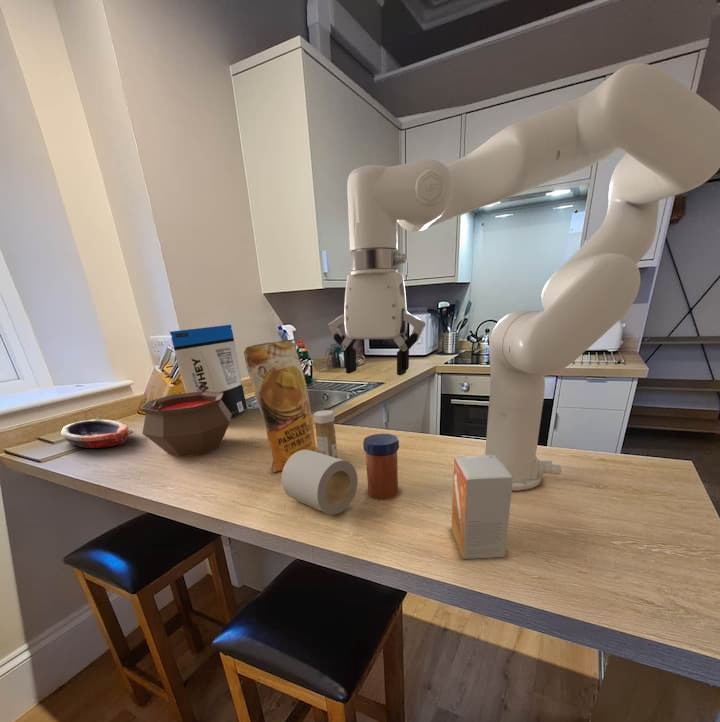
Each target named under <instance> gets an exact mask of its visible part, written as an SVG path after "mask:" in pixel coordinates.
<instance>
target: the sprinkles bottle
mask: <svg viewBox="0 0 720 722" xmlns="http://www.w3.org/2000/svg"><path fill="white" fill-rule="evenodd" d="M312 418H313V419H312V420H313V423H314V427H315V438H316V440H315V441H316V449H317V453H321V454H324V455H328V456H331V457H334V458H338V457H339V456H338V447H337V438H336V430H335V413H334V411H333V410H327V409H324V410H318V411H315V412H313V414H312ZM338 459H339V458H338Z"/></svg>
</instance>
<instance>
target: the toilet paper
mask: <svg viewBox="0 0 720 722" xmlns="http://www.w3.org/2000/svg"><path fill="white" fill-rule="evenodd" d="M358 479H359V478H358V473H357V470H356V468H355V466H354V465H353V464H352V463H351V462H350V461H347V460H344V459H342V458H334V457H331V456H328V455H324V454H321V453H318V451H316V452H314V451H311V450H300V451H298V452H296V453H294V454H293V455H292V456H291V457H290V458H289V459H288V460H287V462H286V464H285V466H284V468H283V471H282V472H281V487H282V490H283V492H284V493H285V495H286V496H287V497H289V498H290V499H292V500H295V501H297V502H300V503H302V504H304V505H305V506H306V505H307V506H308V507H311V508H313V509H316V510H318V511H320V512H323V513H325V514H327V515H331V516H333V515H338V514H340V513H342V512H344V511H345V510H346V509H347V508H348V507H349V506H350V504H351V503H352V502H353V500H354V498H355V496H356V492H357V490H358V489H357V488H358Z"/></svg>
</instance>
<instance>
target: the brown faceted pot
mask: <svg viewBox="0 0 720 722" xmlns="http://www.w3.org/2000/svg"><path fill="white" fill-rule="evenodd" d="M201 386H203V387H204V389H202V388H201ZM198 388H199V389H200V390H201V392H191V393H186V392H184V393H183V392H182V393H174V394H170V395H166V396H163V397H158V398H154V399H150V400H147V401H145V403H144V404H142V405H141V406H140V407H139V408H138V409H139V410H141V411H142V412H143V413H145V416H144V421H143V427H142V435H144V436H145V437H146V438H147V439H149V440H150V441H151V442H153V443H154V444H155V445H156V446H158V447H159V448H160V449H161V450H163V451H164V452H166V453H167V454H168V455H171V456H176V457H181V458H183V457H184V458H185V457H191V456H199V455H204V454H206V453H209V452H212V451H214V450H216V449H218V448H220V446H221V444H222V441H223V439H224V437H225V435H226V432H227V430H228V428H229V426H230V423H231V419H232V418H231V416H232V414H231V413H230V411H229V410H228V408H227V407H226V406H225V404H224V403H223V401H222V400H221V398H222V396H223V393H220V392H209V391H205V390H206V389H207V386H205V385H204V384H203V383H202V382H201V383H200V385H199V387H198Z"/></svg>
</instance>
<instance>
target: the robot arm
mask: <svg viewBox="0 0 720 722" xmlns="http://www.w3.org/2000/svg"><path fill="white" fill-rule="evenodd" d="M621 151H624V152H625V154H624V155H623V156H622V157H621V158H620V159H619V161H618V162H617V164H616V166H615V168H614V170H613V172H612V174H611V177H610V181H609V187H608V204H607V211H606V215H605V218H604V220H603V221H602V223H601V225H600V226H599V227H598V229H597V230H596V231H595V232H594V233H593V234H592V235H591V236H590V237H589V239H588V240H587V241H585V243H583V244H582V245H581V247H580V248H579V249H577V250H576V252H575V253H573V254H572V256H570V257H569V258H568V259H567V260H566V261H565V262H564V263H563V264H562V265H561V266H560V267H559V268H558V269H557V270H556V271H555V272H553V274H552V275H551V276H550V278H549V279H547V281H546V282H545V285H544V287H543V289H542V292H541V305H542V309H543V311H541V310H517V311H513V312H511V313H509V314H507V315H505V316H504V317H502V318H501V319H500V320H499V321H498V322H497V323H496V324H495V326H494V328H493V330H492V332H491V335H490V338H489V345H488V356H489V358H488V359H489V371H490V375H489V376H490V381H489V382H490V383H489V399H488V408H487V409H488V411H487V425H486V435H485V437H486V438H485V451H484V456H485V455H495V456H496V457H497V458H498V459H499V460H500V462H501V463H503V464H504V466H505V467H506V469H507V470H508V471H509V472H510V474H511V475H512V476H513V483H512V491H513V492H514V491H516V492H517V491H524V490H530V489H534V488H535V487H538V486H539V485H540V484H541V482H542V477H543V474H549V475H561V473H562V465H561V464H554V463H553V461H552V460H540V459H538V456H537V450H538V445H539V444H538V443H539V434H540V427H541V420H542V413H543V406H544V399H545V389H546V387H545V386H546V385H545V384H546V380H545V377H548V376H551V375H555V374H557V373H559V372H561V371H563V370H565V369H566V368H567V367H568V366H570V365H571V364H573V362H575V361H576V360H577V359H578V358H580V357H581V356H582V355H583V354H584V353H585V352H586V351H587V350H589V348H591V346H593V345H594V344H595V343H596V342H597V341H598V340H599V339H600V338H602V337H603V336H604V335H605V334H606V333H607V332H608V331H609V330H611V329H612V328H613V327H614V326H615V325H616V324H617V323H618V322H619V321H620V320H621V319H622V318H623V317H624V316H625V315H626V314H627V313H628V311H629V310H630V309H631V307H632V305H633V304H634V302H635V300H636V298H637V296H638V294H639V290H640V286H641V271H640V269H639V266H638V265H637V264H638V263H639V262H640V261H641V260H642V259H643V258H644V257H645V255H647V253H648V252H649V250H650V249H651V247H652V245H653V242H654V240H655V237H656V232H657V227H658V220H659V205H660V201H661V200H665V199H668V198H671V197H675V196H678V195H681V194H684V193H687V192H690V191H692V190H694V189H697V188H699V187H700V186H702V185H704V184H705V183H706V182H708V181H709V180H710V179H711V178H712V177H713V176H714V175H715V174H716V173H717V172H718V171H719V170H720V110H719V109H717V108H716V107H715V106H714V105H713V104H711V103H710V102H708V101H707V100H706V99H704V98H703V97H702V96H700V95H699V94H698V93H696V92H695V91H694V90H692V89H691V88H689V86H687V85H685V84H684V83H683V82H682V81H680V80H679V79H677V78H676V77H674V76H672V75H671V74H670V73H668V72H666V71H665V70H664V69H663V70H662V69H660V68H659V67H656V66H654V65H651V64H649V63H644V62H643V63H642V62H634V63H629V64H626V65H624V66H622V67H621V68H618V69H617V70H616V71H615V72H613V73H612V74H611V75H610V76H608V77H607V78H606V79H605V80H603V81H602V82H601V83H600V84H599V85H597V86H596V87H595V88H594V89H593V90H590V91H589V92H587V93H586V94H584V95H582V96H579V97H577V98H574V99H571V100H570V101H566V102H564V103H562V104H560V105H558V106H555V107H552V108H550V109H548V110H545V111H542V112H539V113H537V114H534V115H532V116H530V117H527V118H525V119H524V118H523V119H522V120H520V121H516V122H513V123H512V124H510V125H507V126H506V127H504V128H503V129H502V130H499V131H498V132H497V133H495V134H494V135H492V136H491V137H490V138H488V139H487V140H486V141H485V142H483V143H481V145H479V146H478V147H477V148H475V149H474V150H473V151H471V152H469V153H467V154H466V155H464V156H463V157H461V158H458V159H457V160H455V161H454V162H451V163H449V164H447V165H445V164H444V163H442V162H440V161H438V160H435V159H420V160H416V161H411V162H407V163H402V164H397V165H391V166H387V165H383V164H382V165H381V164H370V165H369V164H367V165H362V166H358V167H356V168H354V169H353V170H352V171H351V172H350V173H349V175H348V177H347V180H346V181H347V182H346V183H347V185H346V190H347V191H346V192H347V193H346V194H347V211H348V212H347V213H348V215H347V216H348V237H349V238H348V239H349V240H348V241H349V262H350V263H349V264H350V265H349V266H350V274H348V275H347V277H346V283H345V292H344V306H343V307H344V311H343V314H341V315H340V316H338V317H337V318H335V319H334V320H332V321H331V322H329V323H328V329H329V331H330V333H331V335H332V336H333V340H334V341H335V343H336V344H338V345H339V347H340V350H341V351H342V352H343V367H344V368H345V373H346V374H352V373H354V372H356V371H357V350H356V348H354V346H355V344H356V343H357V341H359V340H393V341H394V343H395V345H396V346H397V347H398V349H399V350H397V352H396V375H397V376H403V375H405V374H406V373H407V371H408V370H409V368H410V350H411V348H412V347H413V346H414V345H415V344H416V343H417V341H419V339H420V336H421V335H422V333H423V331H424V329H425V327H426V325H427V324H426V322H425V320H422V319H420V318H419V317H417V316H415V315H414V314H412V313H410V312H408V308H407V298H406V297H407V296H406V287H405V281H404V280H405V279H404V274H403V272H398V270H399V266H401V265H402V264H406V261H407V256H406V253H402V252H400V251H399V250H398V225H399V226H400V227H401V228H402V229H404V230H405V231H407V232H421V231H424V230H427V229H430V228H432V227H435V226H437V225H440V224H442V223H445V222H447V221H450V220H453V219H456V218H457V217H460V216H462V215H465V214H467V213H470V212H473V211H475V210H479V209H480V208H484V207H486V206H489V205H494V204H496V203H499V202H502V201H504V200H507V199H509V198H511V197H514V196H516V195H519V194H522V193H524V192H526V191H529V190H532V189H534V188H536V187H539V186H541V185H545V184H547V183H549V182H552V181H554V180H557V179H559V178H562V177H565V176H568V175H571V174H574V173H576V172H578V171H581V170H584V169H586V168H589V167H591V166H594V165H596V164H597V163H599V162H602V161H603V160H606V159H607V158H609V157H611V156H613V155H615V154H617V153H619V152H621ZM408 324H409V325H410V326H412V327H413V330H412V333H411V334H410V335H409V336H408V337H407V336H406V334H407V331H408ZM343 325H344V333H345V335H344V334H343V333H342V332H341V326H343Z"/></svg>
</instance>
